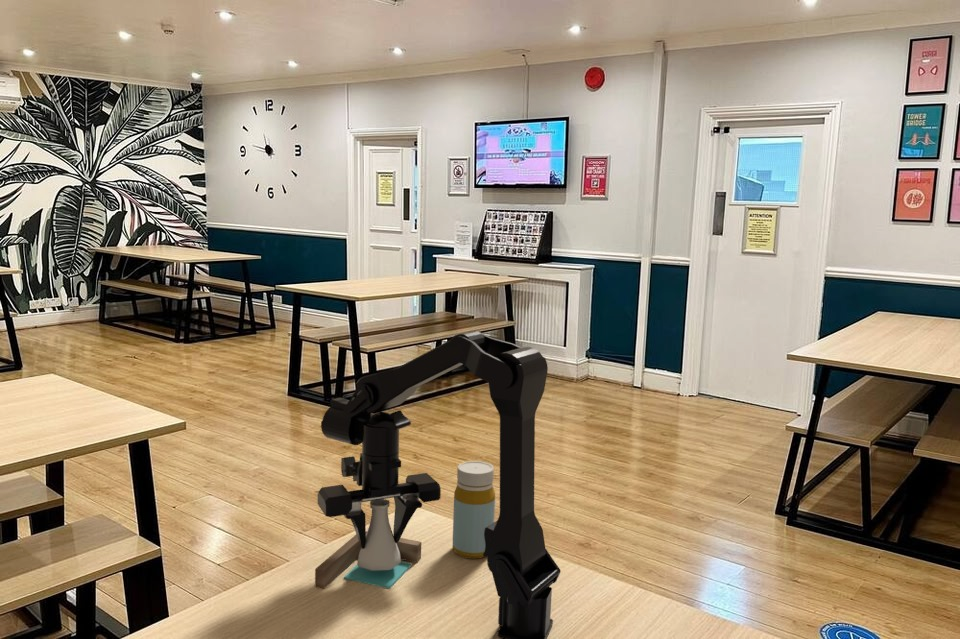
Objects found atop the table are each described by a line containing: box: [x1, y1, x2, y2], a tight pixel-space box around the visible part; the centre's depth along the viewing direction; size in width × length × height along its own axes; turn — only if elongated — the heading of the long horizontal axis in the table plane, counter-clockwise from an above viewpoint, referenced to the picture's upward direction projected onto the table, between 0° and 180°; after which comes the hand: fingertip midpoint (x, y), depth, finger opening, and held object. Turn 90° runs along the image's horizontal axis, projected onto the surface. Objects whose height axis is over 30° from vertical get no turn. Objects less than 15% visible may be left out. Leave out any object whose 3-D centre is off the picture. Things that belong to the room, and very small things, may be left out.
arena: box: [314, 530, 422, 590], centre depth 118 cm, size 11×15×3 cm
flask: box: [356, 499, 402, 571], centre depth 117 cm, size 7×7×10 cm
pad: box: [343, 561, 412, 589], centre depth 118 cm, size 8×8×1 cm
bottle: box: [452, 460, 496, 559], centre depth 126 cm, size 7×7×15 cm
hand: (379, 544), depth 118 cm, fingers closed on flask, 5 cm apart
